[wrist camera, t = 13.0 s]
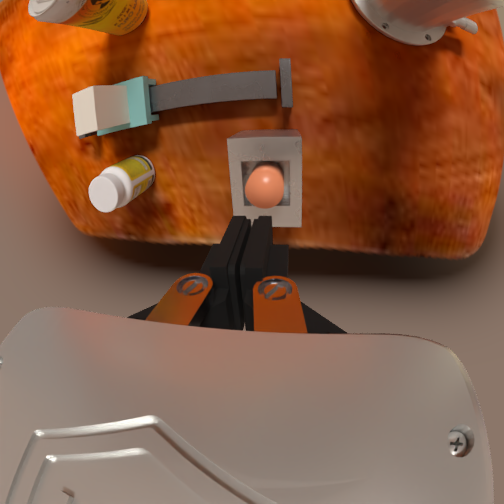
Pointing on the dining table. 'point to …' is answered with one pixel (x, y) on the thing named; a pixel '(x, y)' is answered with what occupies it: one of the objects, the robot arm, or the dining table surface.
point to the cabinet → (267, 150)
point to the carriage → (113, 106)
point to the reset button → (265, 185)
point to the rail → (221, 89)
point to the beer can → (92, 13)
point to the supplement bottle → (121, 183)
